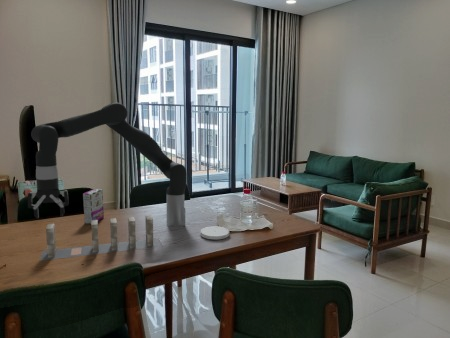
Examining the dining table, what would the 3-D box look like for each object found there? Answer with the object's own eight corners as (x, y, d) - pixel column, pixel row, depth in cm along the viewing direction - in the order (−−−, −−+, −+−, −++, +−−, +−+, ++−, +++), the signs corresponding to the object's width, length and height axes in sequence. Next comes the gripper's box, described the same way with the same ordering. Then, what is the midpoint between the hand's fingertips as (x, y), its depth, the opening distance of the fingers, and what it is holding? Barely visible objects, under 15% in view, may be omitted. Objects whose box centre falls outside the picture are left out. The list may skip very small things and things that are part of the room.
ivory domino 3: (134, 242, 151) (133, 216, 149) (135, 247, 145) (135, 220, 143) (128, 243, 150) (128, 217, 148) (130, 248, 145) (129, 221, 143)
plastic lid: (206, 243, 156) (207, 238, 155) (196, 233, 168) (196, 228, 168) (233, 239, 162) (234, 234, 161) (221, 229, 174) (221, 224, 174)
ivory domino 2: (116, 244, 148) (115, 218, 146) (117, 249, 143) (116, 222, 141) (111, 245, 147) (110, 218, 145) (111, 250, 142) (110, 223, 140)
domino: (56, 251, 140) (54, 223, 138) (54, 257, 134) (52, 228, 132) (49, 251, 139) (47, 224, 137) (47, 257, 133) (45, 228, 131)
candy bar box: (95, 217, 188) (94, 188, 185) (104, 218, 187) (103, 189, 184) (83, 223, 177) (82, 193, 174) (92, 224, 176) (91, 193, 173)
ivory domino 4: (151, 240, 154) (150, 215, 152) (153, 245, 148) (153, 219, 146) (145, 241, 153) (145, 215, 151) (147, 246, 147) (147, 219, 145)
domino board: (158, 240, 157) (158, 237, 157) (162, 248, 148) (162, 245, 148) (42, 253, 140) (42, 250, 140) (39, 263, 131) (39, 260, 130)
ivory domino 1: (98, 246, 146) (97, 219, 144) (98, 251, 140) (97, 224, 138) (92, 247, 145) (91, 220, 143) (92, 252, 139) (91, 224, 137)
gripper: (68, 174, 137) (69, 212, 140) (28, 175, 132) (30, 215, 135) (66, 178, 130) (68, 218, 133) (24, 179, 125) (27, 221, 128)
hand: (49, 216), depth 134 cm, fingers open, 8 cm apart
